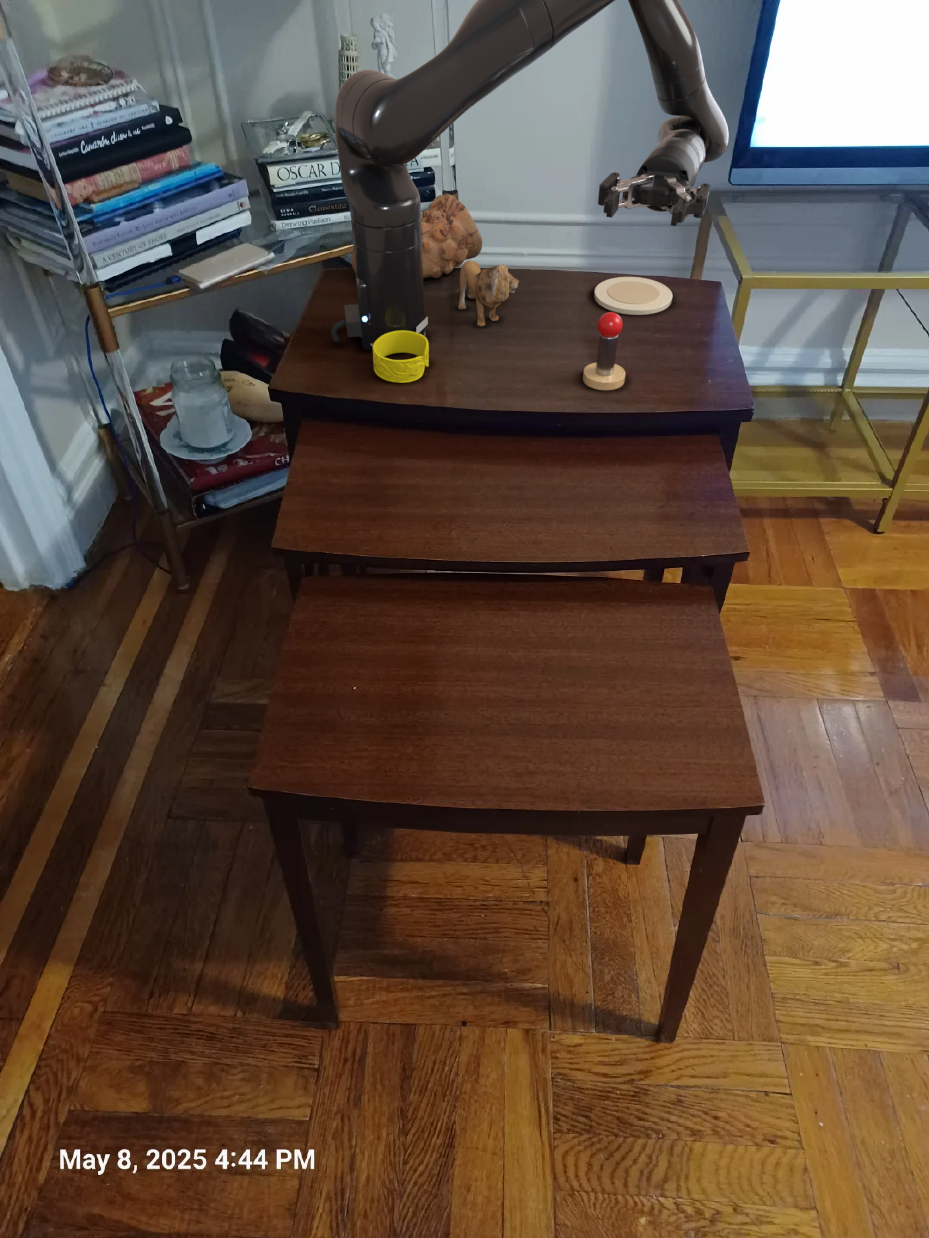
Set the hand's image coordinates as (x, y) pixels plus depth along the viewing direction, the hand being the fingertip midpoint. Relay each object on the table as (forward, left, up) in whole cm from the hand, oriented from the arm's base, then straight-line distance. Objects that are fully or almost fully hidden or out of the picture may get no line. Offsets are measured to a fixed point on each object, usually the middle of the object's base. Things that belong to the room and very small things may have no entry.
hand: (641, 214), depth 114 cm
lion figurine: (-19, +12, -18) cm, 29 cm away
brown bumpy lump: (-29, +23, -18) cm, 42 cm away
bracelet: (-33, -3, -19) cm, 38 cm away
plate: (+5, +14, -18) cm, 24 cm away
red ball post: (-6, -10, -18) cm, 21 cm away
